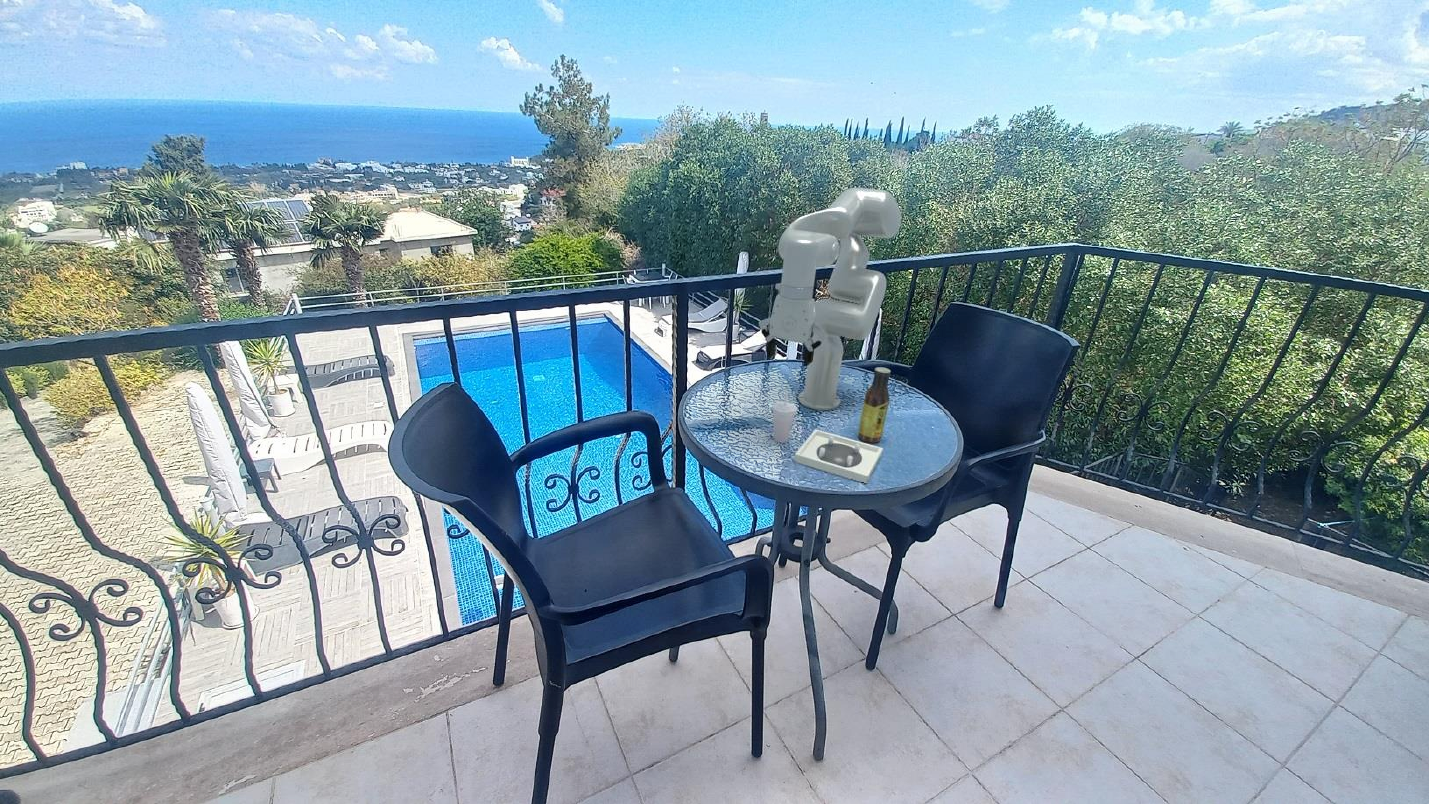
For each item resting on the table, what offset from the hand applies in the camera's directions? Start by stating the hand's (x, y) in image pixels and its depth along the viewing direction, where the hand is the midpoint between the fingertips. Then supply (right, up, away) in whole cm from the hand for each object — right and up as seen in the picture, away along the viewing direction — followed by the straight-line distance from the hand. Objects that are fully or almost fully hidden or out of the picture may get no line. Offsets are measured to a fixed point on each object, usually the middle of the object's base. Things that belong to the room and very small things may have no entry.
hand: (788, 360), depth 133 cm
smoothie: (-1, -20, +10) cm, 23 cm away
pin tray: (+13, -25, +2) cm, 28 cm away
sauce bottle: (+24, -20, +13) cm, 34 cm away
